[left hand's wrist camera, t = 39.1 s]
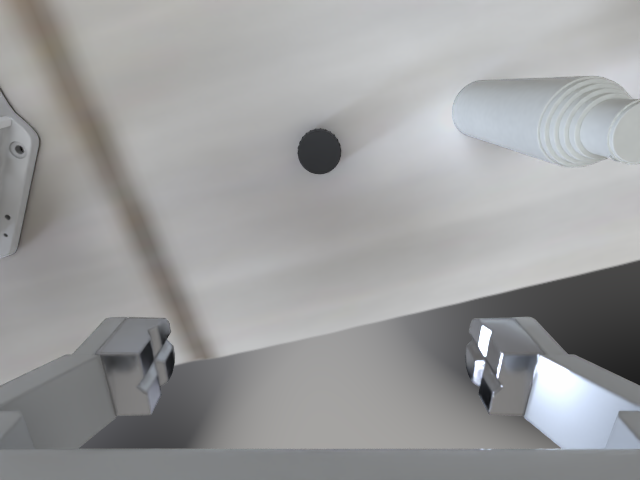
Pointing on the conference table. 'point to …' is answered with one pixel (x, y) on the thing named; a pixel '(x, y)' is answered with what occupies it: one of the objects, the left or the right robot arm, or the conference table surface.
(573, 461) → the left robot arm
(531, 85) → the bottle
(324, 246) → the conference table surface
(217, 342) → the conference table surface
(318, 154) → the cap
